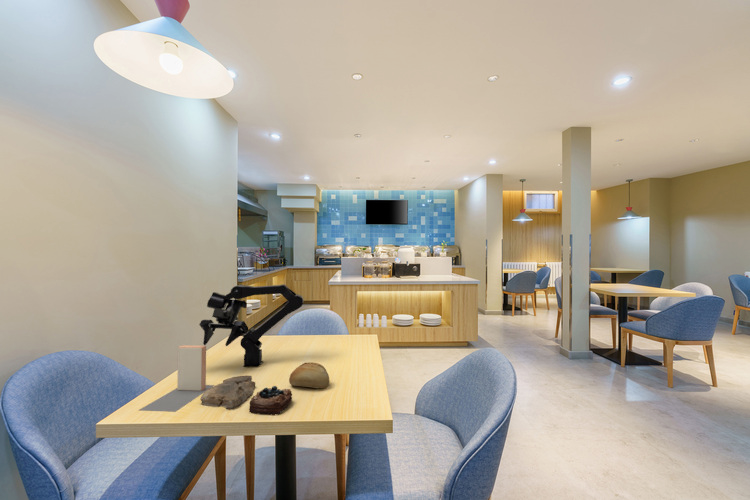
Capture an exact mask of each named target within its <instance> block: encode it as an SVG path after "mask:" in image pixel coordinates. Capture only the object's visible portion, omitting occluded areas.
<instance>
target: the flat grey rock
mask: <svg viewBox="0 0 750 500" xmlns="http://www.w3.org/2000/svg"><path fill="white" fill-rule="evenodd" d="M252 380H253V377H252V375H237V376H232V377H229V378H226V379H224V380H223V381H222V382H221V383H218V384H216V385H214V386H213V387H211V388H209V389H208V390H206V391H205V392H204V393H203V394H201V396H200V399H199V400H200V401H201V405H203V406H207V407H224V408H225V409H227V410H228V409H229V410H233V409H236V408H235V407H238V406H240V405H241V404H244V403H245V402H246V401H247V399H248V398H249V397H250V396H252V395H253V393H254V389H255V387H256V381H252Z"/></svg>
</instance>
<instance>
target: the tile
mask: <svg viewBox="0 0 750 500" xmlns="http://www.w3.org/2000/svg"><path fill="white" fill-rule="evenodd" d="M206 377H207V345H187V344H186V345H180V346H178V347H177V387H176V388H177V390H189V391H202V390H204V389H205V388H206V385H207V381H206V380H207V378H206Z"/></svg>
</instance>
